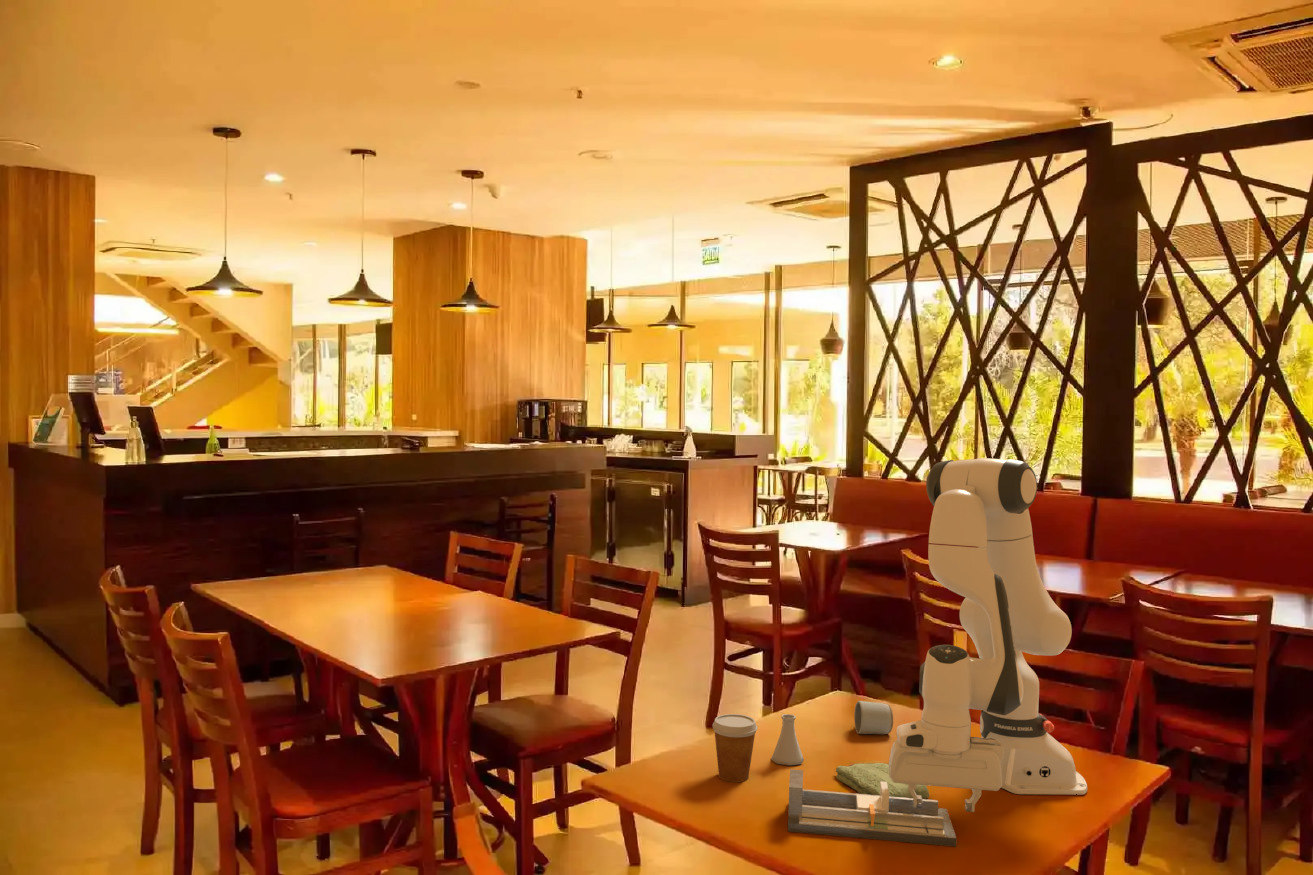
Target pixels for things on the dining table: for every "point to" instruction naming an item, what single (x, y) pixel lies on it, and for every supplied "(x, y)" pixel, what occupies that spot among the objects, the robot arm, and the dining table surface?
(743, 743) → the disposable coffee cup
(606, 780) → the dining table surface
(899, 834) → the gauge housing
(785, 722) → the flask
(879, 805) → the cream corner bracket
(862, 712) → the ceramic mug
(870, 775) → the washcloth
